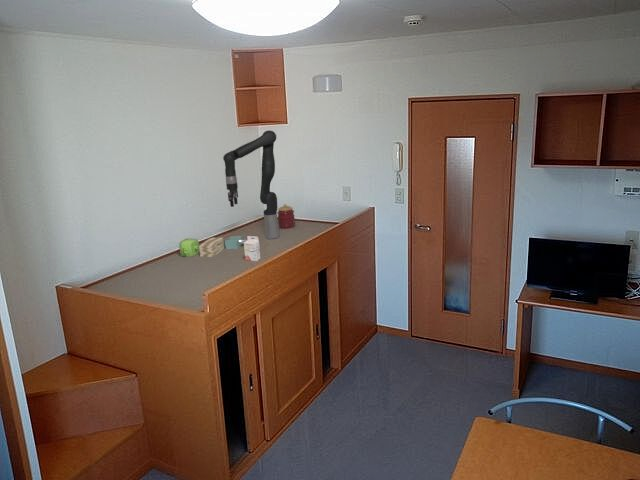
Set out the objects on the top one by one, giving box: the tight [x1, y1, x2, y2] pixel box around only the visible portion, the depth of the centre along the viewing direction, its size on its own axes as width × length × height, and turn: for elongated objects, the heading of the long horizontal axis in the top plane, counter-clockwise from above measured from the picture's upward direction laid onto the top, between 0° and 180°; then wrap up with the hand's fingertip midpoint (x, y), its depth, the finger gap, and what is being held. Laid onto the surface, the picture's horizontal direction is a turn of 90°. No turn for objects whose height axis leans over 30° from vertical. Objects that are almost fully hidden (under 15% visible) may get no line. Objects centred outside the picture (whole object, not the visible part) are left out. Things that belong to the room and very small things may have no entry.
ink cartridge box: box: [243, 235, 261, 262], centre depth 332 cm, size 9×5×15 cm, turn 65°
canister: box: [277, 204, 296, 229], centre depth 413 cm, size 13×13×18 cm
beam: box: [199, 237, 225, 258], centre depth 356 cm, size 9×20×8 cm, turn 170°
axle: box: [223, 238, 248, 245], centre depth 367 cm, size 18×4×4 cm, turn 80°
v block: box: [224, 235, 244, 250], centre depth 367 cm, size 8×13×6 cm, turn 170°
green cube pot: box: [178, 238, 200, 257], centre depth 354 cm, size 18×10×10 cm, turn 166°
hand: (234, 205), depth 375 cm, fingers open, 8 cm apart
